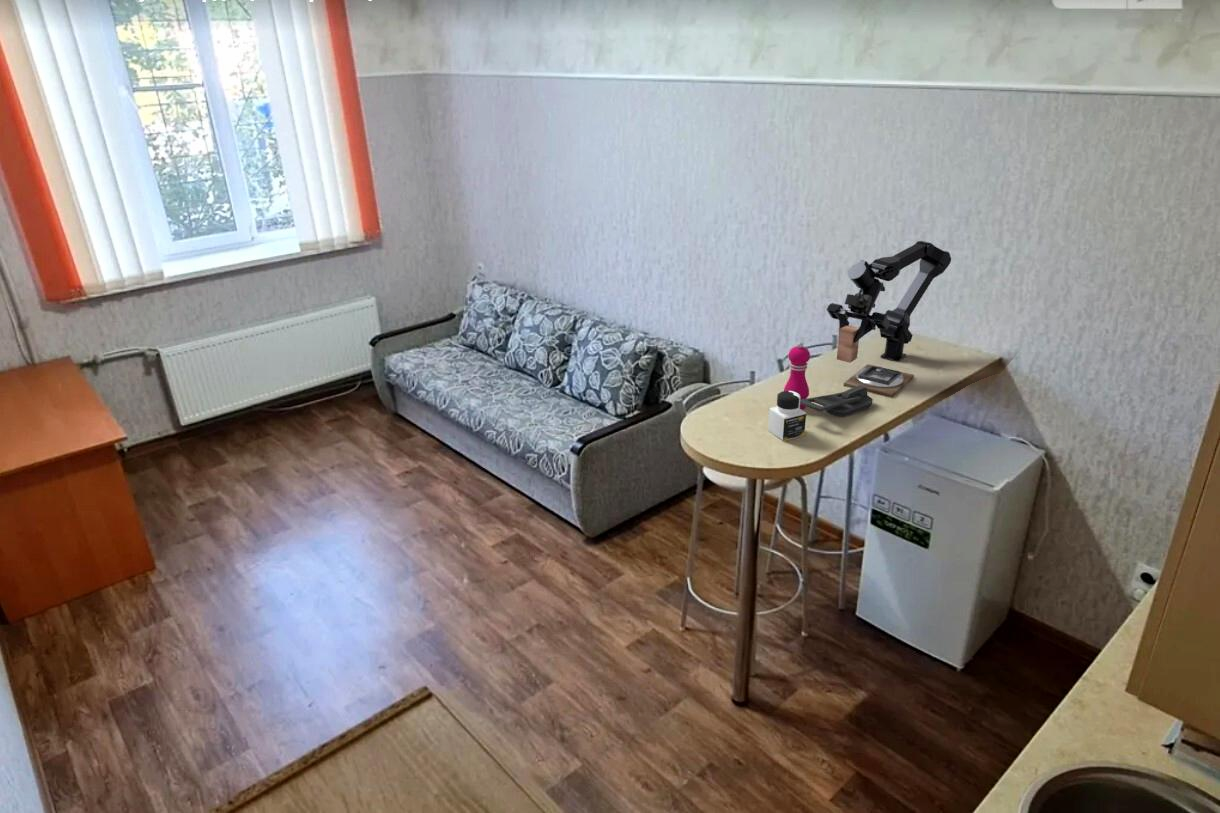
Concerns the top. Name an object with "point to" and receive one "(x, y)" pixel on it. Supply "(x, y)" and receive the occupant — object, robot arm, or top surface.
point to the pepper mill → (798, 371)
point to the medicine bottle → (787, 417)
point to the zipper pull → (841, 402)
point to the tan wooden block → (847, 344)
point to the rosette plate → (879, 377)
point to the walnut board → (886, 392)
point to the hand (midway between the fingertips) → (846, 340)
